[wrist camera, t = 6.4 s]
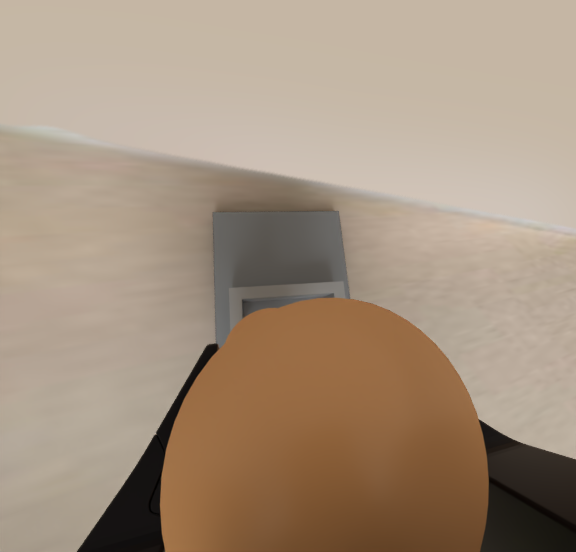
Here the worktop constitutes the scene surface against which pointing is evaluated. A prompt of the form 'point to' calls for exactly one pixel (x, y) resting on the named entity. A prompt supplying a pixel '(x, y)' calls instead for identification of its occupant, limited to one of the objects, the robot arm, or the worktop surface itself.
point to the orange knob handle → (325, 440)
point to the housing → (274, 262)
